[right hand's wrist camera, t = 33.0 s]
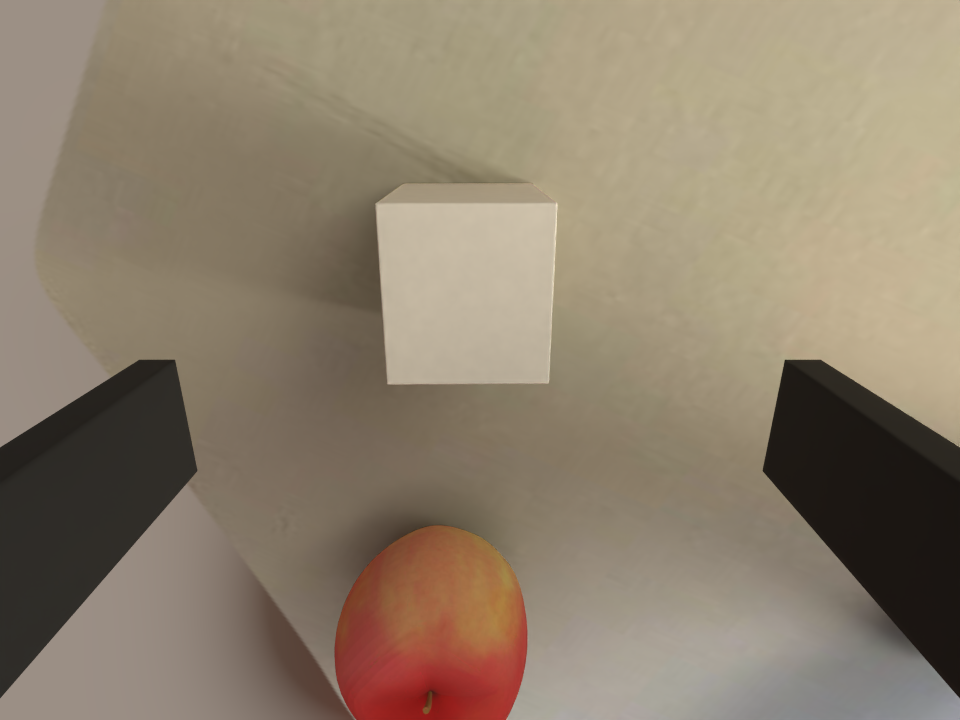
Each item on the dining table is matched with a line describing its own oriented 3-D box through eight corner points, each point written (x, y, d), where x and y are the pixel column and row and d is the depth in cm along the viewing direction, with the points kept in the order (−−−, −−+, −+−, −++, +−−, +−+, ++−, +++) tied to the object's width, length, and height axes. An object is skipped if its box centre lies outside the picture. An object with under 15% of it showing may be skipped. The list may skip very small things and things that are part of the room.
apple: (540, 595, 35) (565, 762, 26) (395, 635, 36) (369, 809, 27) (489, 468, 32) (497, 607, 22) (331, 516, 33) (276, 668, 23)
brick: (408, 319, 29) (386, 385, 21) (402, 183, 26) (374, 202, 19) (528, 318, 29) (549, 384, 21) (533, 183, 26) (557, 202, 19)
